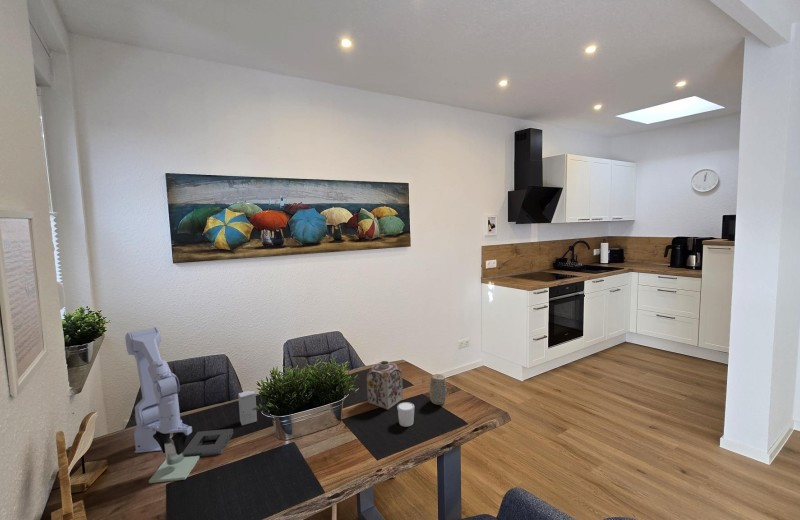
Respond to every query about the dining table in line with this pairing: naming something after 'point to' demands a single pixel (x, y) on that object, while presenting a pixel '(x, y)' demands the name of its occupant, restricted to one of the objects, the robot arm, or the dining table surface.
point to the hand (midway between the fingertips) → (173, 452)
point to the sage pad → (174, 470)
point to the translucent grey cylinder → (172, 453)
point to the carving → (438, 389)
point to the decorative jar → (384, 385)
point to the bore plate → (204, 450)
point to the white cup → (406, 413)
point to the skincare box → (247, 407)
